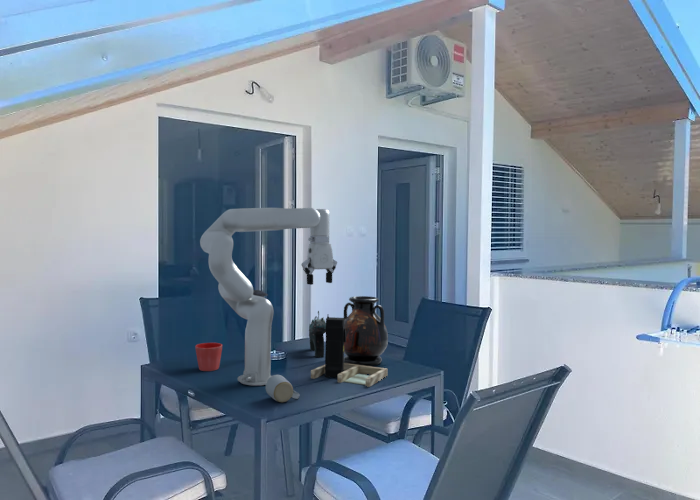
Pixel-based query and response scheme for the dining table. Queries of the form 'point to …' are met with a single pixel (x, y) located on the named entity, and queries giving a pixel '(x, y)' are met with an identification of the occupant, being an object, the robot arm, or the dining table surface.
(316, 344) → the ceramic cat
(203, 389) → the dining table surface
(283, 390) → the ceramic mug
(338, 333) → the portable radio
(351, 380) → the slot rack
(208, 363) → the flower pot
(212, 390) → the dining table surface
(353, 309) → the amphora vase
